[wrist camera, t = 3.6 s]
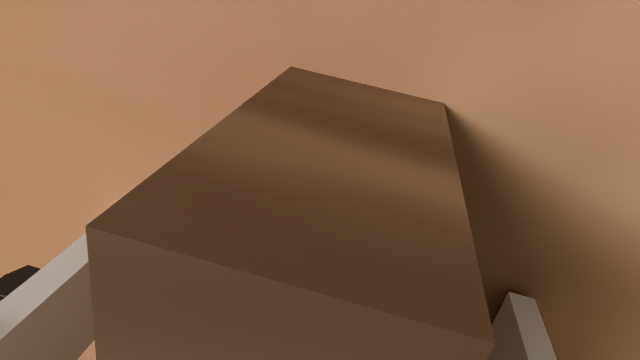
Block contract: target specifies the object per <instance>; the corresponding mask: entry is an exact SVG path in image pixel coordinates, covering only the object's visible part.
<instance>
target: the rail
mask: <svg viewBox="0 0 640 360" xmlns="http://www.w3.org/2000/svg"><path fill="white" fill-rule="evenodd" d="M86 238H87V250H88V262H89V274H90V287H91V299H92V311H93V323H94V336H95V348H96V360H487V359H488V357H489V355H490V353H491V351H492V349H493V347H494V346H495V340H494V335H493V330H492V326H491V321H490V316H489V312H488V307H487V302H486V298H485V293H484V288H483V283H482V279H481V274H480V269H479V265H478V260H477V255H476V251H475V246H474V241H473V237H472V232H471V227H470V223H469V218H468V213H467V209H466V204H465V199H464V195H463V190H462V185H461V181H460V176H459V171H458V167H457V162H456V157H455V153H454V148H453V143H452V139H451V134H450V129H449V125H448V120H447V115H446V110H445V106H444V103H440V102H436V101H432V100H428V99H424V98H419V97H415V96H411V95H407V94H403V93H399V92H394V91H390V90H386V89H382V88H378V87H374V86H369V85H365V84H361V83H357V82H353V81H349V80H344V79H340V78H336V77H332V76H328V75H324V74H319V73H315V72H311V71H307V70H303V69H299V68H294V67H290V68H288V69H287V70H286V71H285V72H283V73H282V74H281V75H279V76H278V77H277V78H276V79H274V80H273V81H272V82H270V83H269V84H268V85H267V86H265V87H264V88H263V89H261V90H260V91H259V92H258V93H256V94H255V95H254V96H252V97H251V98H250V99H249V100H247V101H246V102H245V103H243V104H242V105H241V106H240V107H238V108H237V109H236V110H234V111H233V112H232V113H231V114H229V115H228V116H227V117H225V118H224V119H223V120H222V121H220V122H219V123H218V124H216V125H215V126H214V127H213V128H211V129H210V130H209V131H207V132H206V133H205V134H204V135H202V136H201V137H200V138H198V139H197V140H196V141H194V142H193V143H192V144H191V145H189V146H188V147H187V148H185V149H184V150H183V151H182V152H180V153H179V154H178V155H176V156H175V157H174V158H173V159H171V160H170V161H169V162H167V163H166V164H165V165H164V166H162V167H161V168H160V169H158V170H157V171H156V172H155V173H153V174H152V175H151V176H149V177H148V178H147V179H146V180H144V181H143V182H142V183H140V184H139V185H138V186H137V187H135V188H134V189H133V190H131V191H130V192H129V193H128V194H126V195H125V196H124V197H122V198H121V199H120V200H119V201H117V202H116V203H115V204H113V205H112V206H111V207H110V208H108V209H107V210H106V211H104V212H103V213H102V214H101V215H99V216H98V217H97V218H95V219H94V220H93V221H92V222H90V223H89V224H88V225H86Z"/></svg>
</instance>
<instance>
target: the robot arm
mask: <svg viewBox="0 0 640 360" xmlns="http://www.w3.org/2000/svg"><path fill="white" fill-rule="evenodd" d="M492 330H493V335H494V340H495V346H494V347H493V349H492V351H491V353H490V355H489V357H488V359H487V360H557V359H556V356H555V353H554V350H553V348H552V345H551V342H550V339H549V337H548V334H547V331H546V328H545V326H544V323H543V320H542V317H541V315H540V312H539V309H538V307H537V304H536V301H535V299H533V298H530V297H526V296H522V295H519V294H515V293H511V292H508V294H507V296H506V298H505V300H504V302H503V304H502V306H501V308H500V310H499V312H498V314H497V316H496V318H495V320H494V322H493V324H492ZM94 339H95V336H94V323H93V311H92V299H91V287H90V274H89V262H88V250H87V238H86V233H85V234H84V235H83V236H82V237H80V238H79V239H78V240H77V241H75V242H74V243H73V244H72V245H70V246H69V247H68V248H67V249H65V250H64V251H63V252H62V253H60V254H59V255H58V256H57V257H55V258H54V259H53V260H52V261H50V262H49V263H48V264H47V265H45V266H44V267H43V268H42V269H40V268H36V267H33V266H29V265H27V266H25V267H23V268H20V269H18V270H16V271H13V272H11V273H9V274H6V275H4V276H3V277H1V278H0V360H77V359H78V358H79V357H80V356H81V354H82V353H83V352H84V351H85V350H86V349H87V348H88V346H89V345H90V344H91V343H92V342H93V341H94Z"/></svg>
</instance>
